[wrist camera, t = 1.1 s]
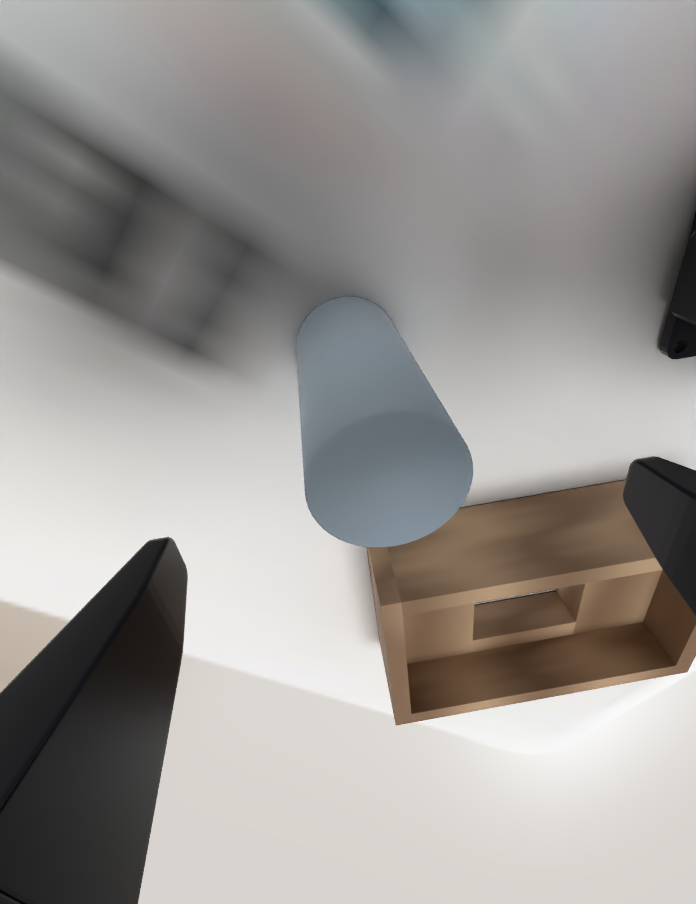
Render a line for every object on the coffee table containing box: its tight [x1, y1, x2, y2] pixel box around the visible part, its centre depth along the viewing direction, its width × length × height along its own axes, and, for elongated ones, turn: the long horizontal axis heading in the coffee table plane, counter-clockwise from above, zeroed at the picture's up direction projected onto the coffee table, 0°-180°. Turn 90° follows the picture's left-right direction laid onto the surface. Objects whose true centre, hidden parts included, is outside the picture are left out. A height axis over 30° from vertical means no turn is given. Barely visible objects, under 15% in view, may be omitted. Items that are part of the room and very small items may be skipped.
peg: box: [296, 296, 473, 547], centre depth 13 cm, size 4×4×8 cm
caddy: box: [367, 480, 696, 725], centre depth 22 cm, size 15×9×4 cm, turn 97°
